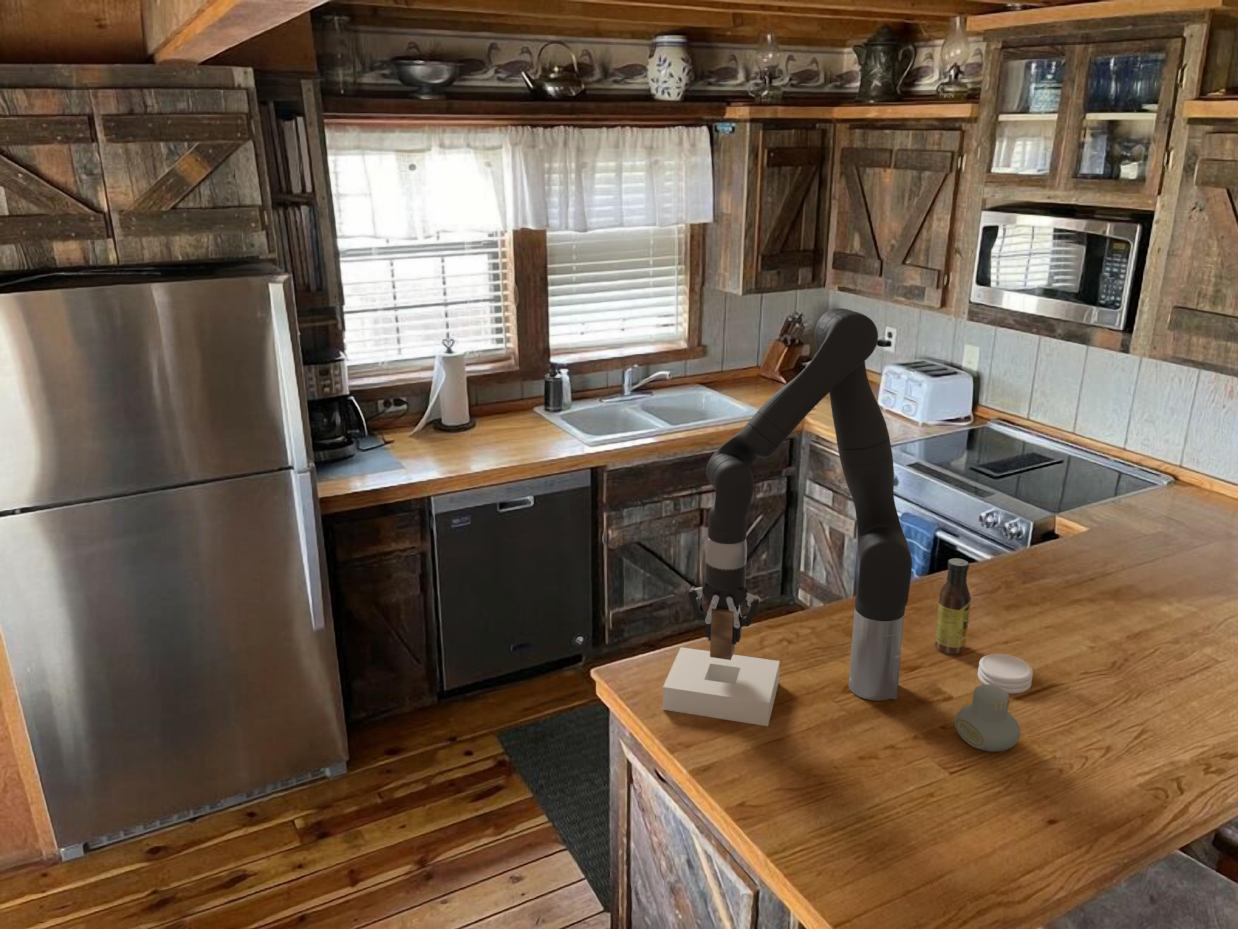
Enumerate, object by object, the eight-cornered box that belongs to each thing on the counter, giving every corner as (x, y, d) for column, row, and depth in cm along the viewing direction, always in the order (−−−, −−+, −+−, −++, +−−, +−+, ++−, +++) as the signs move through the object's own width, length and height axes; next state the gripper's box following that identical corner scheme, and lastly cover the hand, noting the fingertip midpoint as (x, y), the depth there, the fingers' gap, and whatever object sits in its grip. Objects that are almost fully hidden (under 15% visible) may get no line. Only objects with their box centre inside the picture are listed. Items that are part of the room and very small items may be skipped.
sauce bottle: (966, 657, 193) (977, 570, 187) (935, 654, 195) (945, 568, 188) (962, 641, 199) (973, 557, 193) (932, 638, 201) (941, 554, 194)
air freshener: (945, 730, 170) (951, 682, 167) (980, 719, 173) (987, 672, 170) (990, 764, 161) (997, 715, 157) (1026, 752, 164) (1033, 703, 160)
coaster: (1035, 697, 180) (1038, 681, 179) (981, 692, 182) (983, 676, 181) (1025, 670, 189) (1027, 655, 188) (973, 665, 191) (975, 650, 190)
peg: (734, 649, 179) (736, 603, 176) (730, 660, 176) (732, 613, 172) (714, 646, 181) (715, 600, 177) (710, 657, 177) (711, 610, 174)
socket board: (778, 683, 185) (779, 661, 184) (768, 726, 172) (769, 703, 170) (680, 668, 191) (680, 647, 189) (662, 709, 177) (662, 686, 175)
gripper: (767, 555, 173) (762, 636, 179) (692, 546, 177) (690, 626, 183) (761, 572, 166) (756, 656, 172) (683, 562, 170) (681, 645, 176)
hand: (722, 640), depth 177 cm, fingers closed on peg, 4 cm apart
